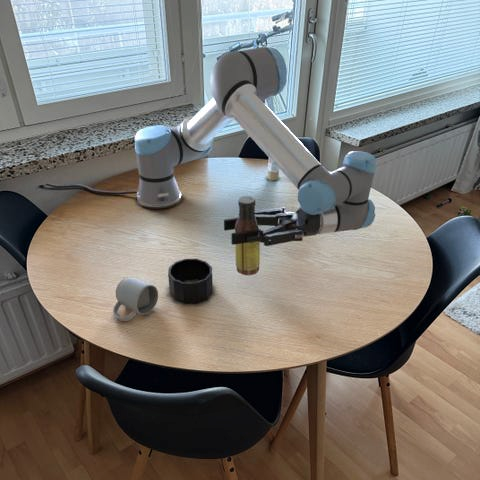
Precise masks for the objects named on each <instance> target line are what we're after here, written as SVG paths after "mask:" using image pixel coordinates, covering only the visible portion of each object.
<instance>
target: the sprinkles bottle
mask: <svg viewBox="0 0 480 480" xmlns="http://www.w3.org/2000/svg"><path fill="white" fill-rule="evenodd" d="M267 162H268V163H267V175H266V176H267V177H266V178H267V179H268V180H270V181H278V180H279V179H280V169H279V168H278V167H277V165H276V164H275V163H274V162H273V161H272V160H271V159H270V158H269V157H268V161H267Z"/></svg>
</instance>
